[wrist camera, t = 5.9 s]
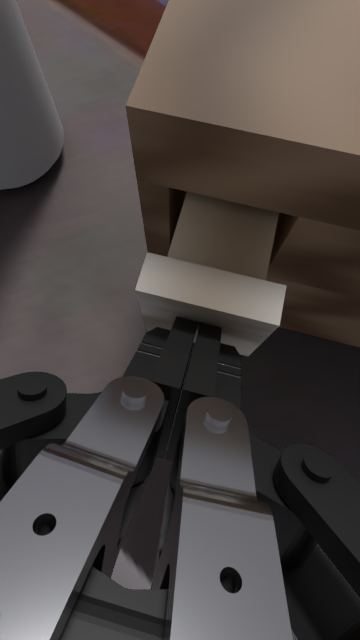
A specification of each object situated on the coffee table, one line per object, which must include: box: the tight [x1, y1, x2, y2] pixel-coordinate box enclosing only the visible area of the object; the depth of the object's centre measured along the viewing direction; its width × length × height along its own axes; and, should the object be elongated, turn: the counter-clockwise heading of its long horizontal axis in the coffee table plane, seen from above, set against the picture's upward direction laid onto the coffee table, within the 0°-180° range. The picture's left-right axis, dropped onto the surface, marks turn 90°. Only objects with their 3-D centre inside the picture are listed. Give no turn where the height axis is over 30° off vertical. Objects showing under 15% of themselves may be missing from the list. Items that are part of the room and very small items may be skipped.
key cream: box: [135, 192, 286, 356], centre depth 12 cm, size 4×9×4 cm, turn 165°
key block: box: [126, 0, 360, 347], centre depth 14 cm, size 16×7×12 cm, turn 75°
